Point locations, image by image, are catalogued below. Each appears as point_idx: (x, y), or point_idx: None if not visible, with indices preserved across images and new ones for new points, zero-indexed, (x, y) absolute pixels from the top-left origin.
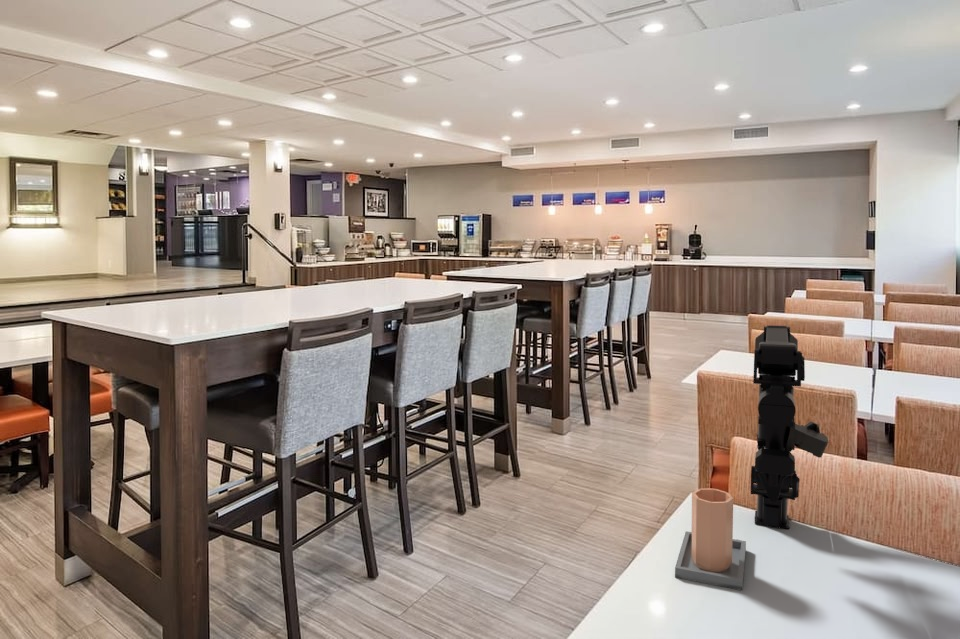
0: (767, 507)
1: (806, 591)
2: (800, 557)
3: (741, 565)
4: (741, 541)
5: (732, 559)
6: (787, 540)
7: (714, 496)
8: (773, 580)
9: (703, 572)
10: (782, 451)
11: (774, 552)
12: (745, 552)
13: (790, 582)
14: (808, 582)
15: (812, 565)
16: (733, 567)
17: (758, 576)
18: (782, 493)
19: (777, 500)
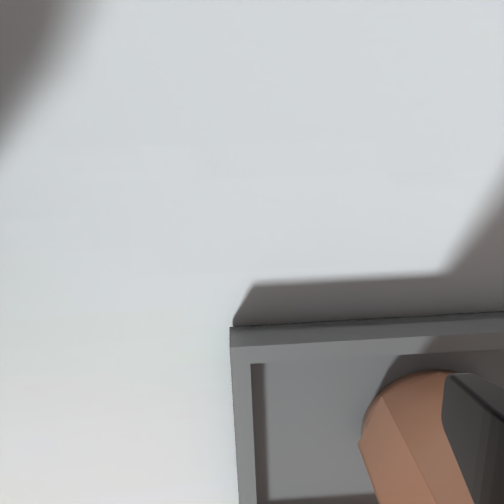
0: None
1: (494, 80)
2: (181, 105)
3: (469, 342)
4: (241, 363)
5: (362, 367)
6: (23, 166)
7: None
8: (441, 209)
9: None
10: None
11: (184, 217)
12: (264, 327)
13: (437, 144)
14: (413, 71)
15: (241, 50)
16: (429, 357)
17: (427, 263)
18: None
19: (486, 380)
